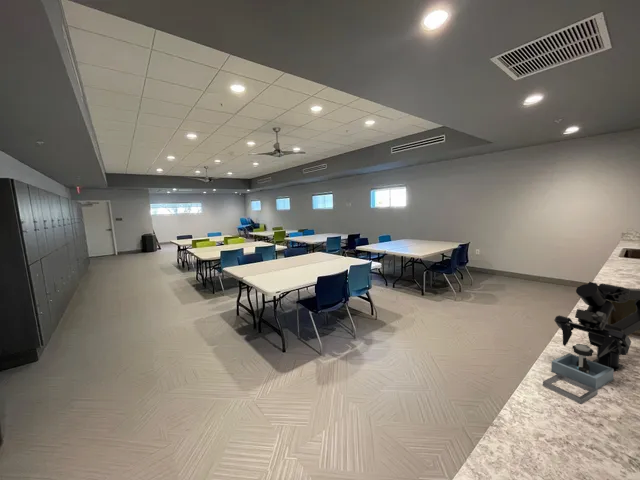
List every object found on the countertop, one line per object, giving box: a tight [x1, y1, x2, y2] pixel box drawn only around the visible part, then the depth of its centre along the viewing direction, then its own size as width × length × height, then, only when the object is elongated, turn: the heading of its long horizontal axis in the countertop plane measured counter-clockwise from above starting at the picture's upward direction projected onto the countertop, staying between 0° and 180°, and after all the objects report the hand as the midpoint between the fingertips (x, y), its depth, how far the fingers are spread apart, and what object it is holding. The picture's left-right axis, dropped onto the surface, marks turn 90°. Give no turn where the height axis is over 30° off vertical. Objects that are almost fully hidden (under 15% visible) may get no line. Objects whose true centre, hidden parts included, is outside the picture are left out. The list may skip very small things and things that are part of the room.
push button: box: [572, 343, 595, 374], centre depth 94 cm, size 7×5×10 cm
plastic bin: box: [550, 352, 615, 390], centre depth 94 cm, size 12×12×4 cm
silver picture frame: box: [542, 373, 599, 405], centre depth 87 cm, size 10×10×2 cm
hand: (580, 350), depth 93 cm, fingers open, 9 cm apart
